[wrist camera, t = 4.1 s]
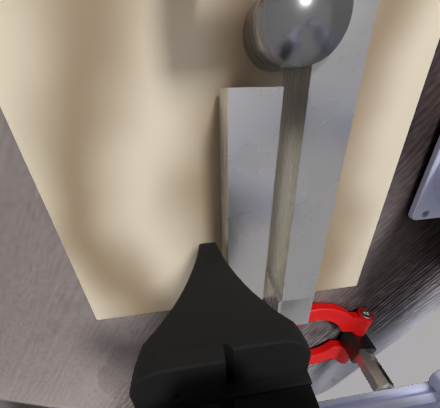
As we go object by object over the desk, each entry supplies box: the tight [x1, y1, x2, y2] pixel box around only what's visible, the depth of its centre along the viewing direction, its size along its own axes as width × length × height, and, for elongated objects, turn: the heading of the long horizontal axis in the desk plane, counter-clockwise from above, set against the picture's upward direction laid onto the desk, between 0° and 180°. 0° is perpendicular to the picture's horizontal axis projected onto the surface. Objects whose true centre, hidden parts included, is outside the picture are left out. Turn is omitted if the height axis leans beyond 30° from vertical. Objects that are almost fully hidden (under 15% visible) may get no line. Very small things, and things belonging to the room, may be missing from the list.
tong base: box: [243, 0, 379, 325], centre depth 11 cm, size 4×21×3 cm, turn 2°
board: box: [0, 0, 440, 320], centre depth 12 cm, size 20×22×1 cm
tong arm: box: [219, 87, 284, 300], centre depth 12 cm, size 2×14×3 cm, turn 1°
